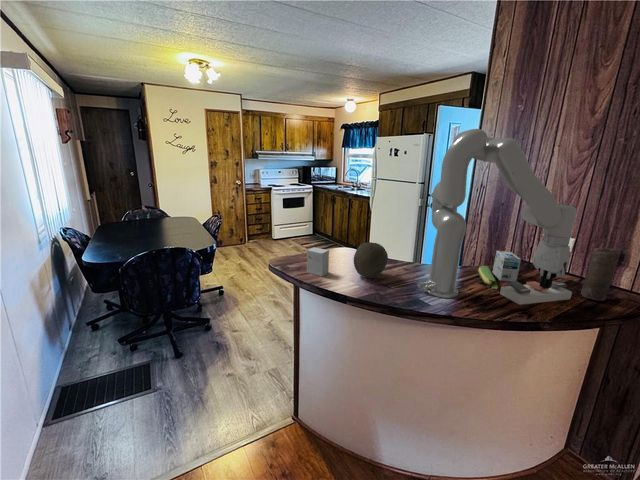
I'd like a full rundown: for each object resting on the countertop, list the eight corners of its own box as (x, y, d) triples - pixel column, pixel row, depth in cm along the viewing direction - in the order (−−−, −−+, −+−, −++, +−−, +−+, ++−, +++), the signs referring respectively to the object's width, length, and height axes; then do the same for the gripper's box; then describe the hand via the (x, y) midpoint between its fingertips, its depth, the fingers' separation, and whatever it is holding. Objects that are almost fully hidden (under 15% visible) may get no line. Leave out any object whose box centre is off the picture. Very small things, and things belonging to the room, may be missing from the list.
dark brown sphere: (383, 285, 124) (386, 250, 120) (349, 280, 128) (351, 245, 124) (387, 273, 137) (390, 241, 133) (356, 268, 141) (358, 237, 137)
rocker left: (521, 293, 112) (522, 291, 112) (508, 284, 118) (509, 282, 117) (529, 292, 113) (530, 290, 113) (516, 283, 119) (517, 281, 118)
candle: (607, 305, 113) (623, 253, 108) (581, 300, 117) (596, 249, 112) (602, 297, 120) (617, 248, 114) (578, 293, 123) (591, 245, 118)
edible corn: (489, 265, 139) (479, 261, 140) (501, 283, 121) (490, 279, 122) (484, 275, 141) (474, 271, 142) (495, 294, 123) (483, 289, 123)
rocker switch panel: (519, 304, 112) (521, 295, 111) (499, 293, 120) (501, 285, 119) (570, 299, 117) (572, 290, 116) (548, 289, 126) (550, 281, 125)
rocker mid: (540, 290, 114) (540, 287, 114) (526, 284, 120) (526, 281, 120) (548, 289, 115) (549, 286, 115) (534, 283, 121) (534, 281, 121)
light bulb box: (516, 282, 132) (522, 258, 129) (499, 281, 133) (504, 257, 130) (507, 273, 142) (512, 251, 139) (491, 272, 143) (495, 250, 140)
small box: (328, 273, 135) (329, 250, 132) (321, 277, 131) (322, 253, 128) (313, 269, 139) (314, 246, 137) (306, 272, 135) (306, 249, 132)
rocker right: (558, 287, 116) (558, 284, 116) (543, 284, 122) (543, 281, 122) (566, 286, 117) (566, 284, 117) (551, 283, 123) (551, 280, 123)
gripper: (529, 235, 116) (519, 280, 121) (568, 246, 102) (556, 297, 107) (544, 234, 118) (534, 278, 123) (586, 245, 104) (573, 295, 109)
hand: (544, 287), depth 115 cm, fingers closed
